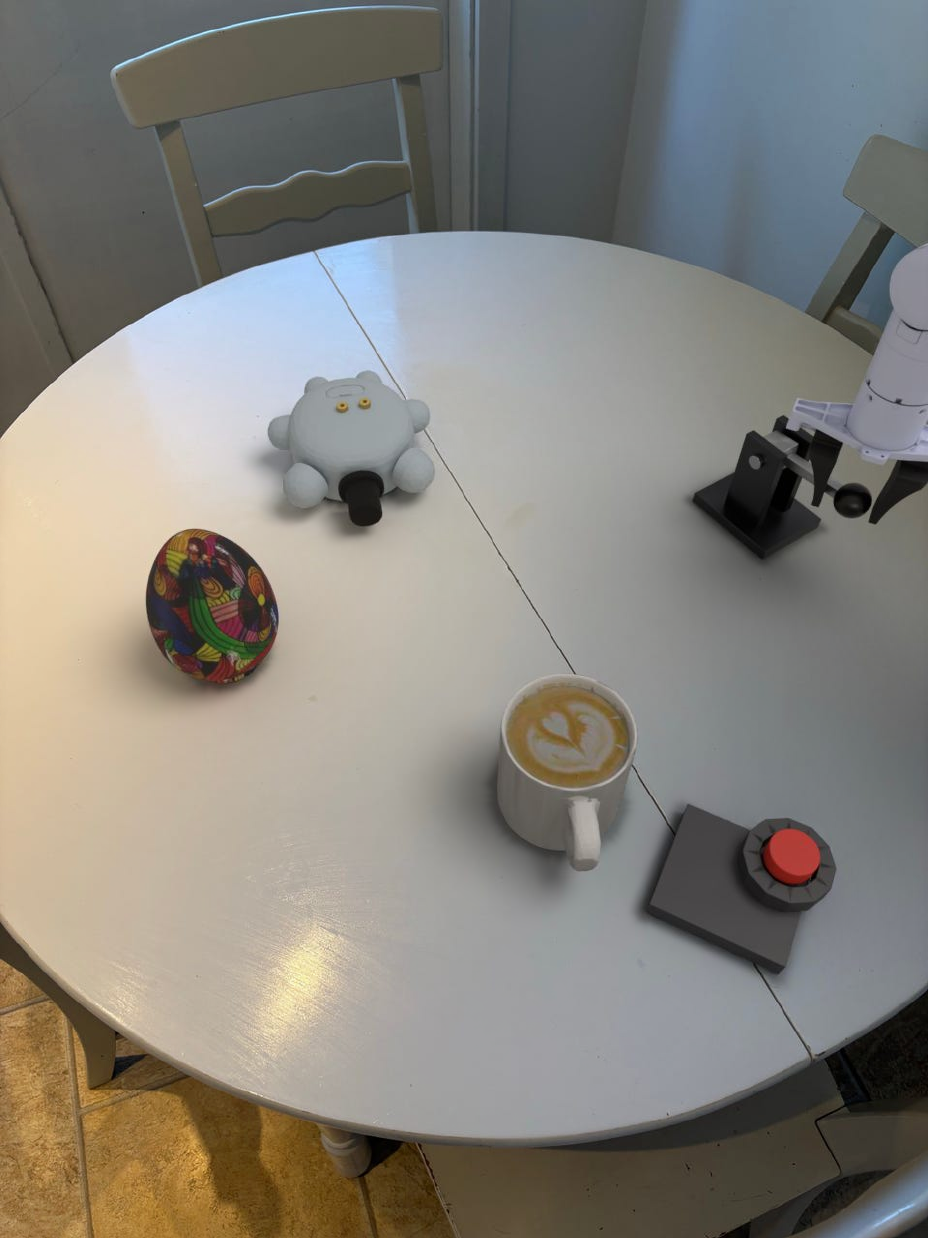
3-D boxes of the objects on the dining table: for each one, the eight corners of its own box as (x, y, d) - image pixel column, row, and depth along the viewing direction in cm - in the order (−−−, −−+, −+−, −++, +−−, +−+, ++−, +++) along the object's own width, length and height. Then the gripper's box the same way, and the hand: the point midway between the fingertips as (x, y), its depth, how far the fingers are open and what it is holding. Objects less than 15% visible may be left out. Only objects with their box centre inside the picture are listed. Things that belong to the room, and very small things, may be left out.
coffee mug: (499, 736, 75) (503, 669, 68) (617, 743, 75) (634, 676, 67) (492, 890, 67) (495, 833, 59) (624, 898, 67) (645, 842, 59)
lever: (873, 516, 81) (884, 489, 78) (849, 530, 80) (859, 503, 77) (774, 450, 88) (781, 424, 85) (750, 463, 86) (757, 436, 84)
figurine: (269, 418, 101) (285, 558, 90) (255, 359, 94) (271, 505, 83) (420, 398, 103) (452, 533, 92) (418, 340, 96) (453, 479, 85)
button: (818, 851, 66) (825, 841, 64) (806, 893, 64) (814, 884, 62) (770, 830, 67) (776, 820, 65) (757, 871, 65) (763, 862, 63)
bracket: (818, 527, 90) (852, 449, 82) (762, 560, 88) (791, 483, 80) (747, 471, 96) (773, 393, 88) (692, 501, 93) (713, 423, 85)
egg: (220, 724, 76) (175, 616, 64) (145, 659, 81) (89, 546, 69) (311, 648, 81) (285, 535, 69) (235, 590, 86) (198, 474, 74)
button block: (828, 859, 69) (843, 840, 66) (796, 983, 63) (811, 967, 60) (688, 800, 72) (697, 779, 69) (645, 912, 66) (653, 894, 63)
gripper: (799, 387, 70) (755, 511, 80) (996, 439, 66) (922, 563, 76) (818, 339, 73) (773, 464, 84) (1004, 386, 70) (933, 510, 80)
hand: (845, 508), depth 80 cm, fingers open, 4 cm apart
